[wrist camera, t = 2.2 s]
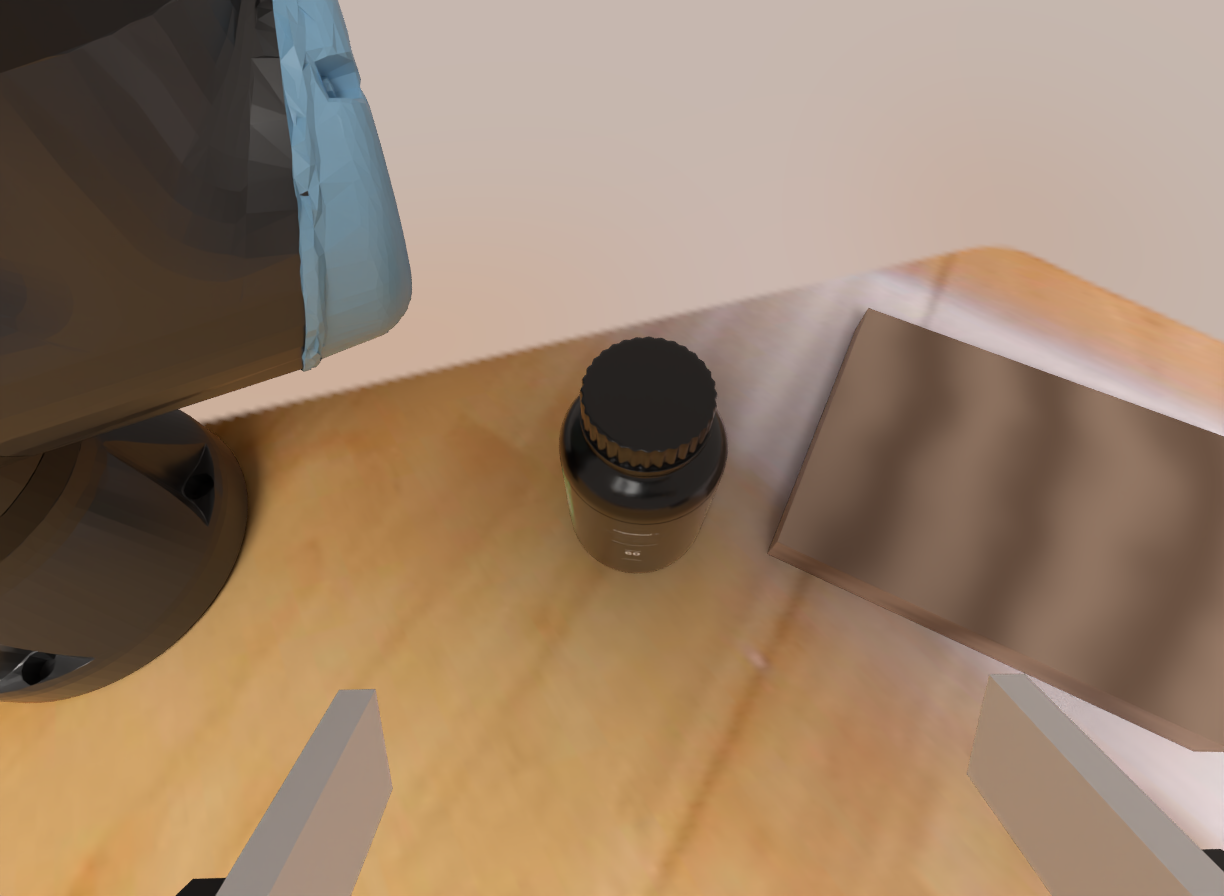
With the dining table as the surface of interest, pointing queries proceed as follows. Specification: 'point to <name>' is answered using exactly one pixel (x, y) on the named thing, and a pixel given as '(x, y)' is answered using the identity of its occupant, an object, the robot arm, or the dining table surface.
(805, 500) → the walnut board
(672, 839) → the dining table surface
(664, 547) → the supplement bottle
